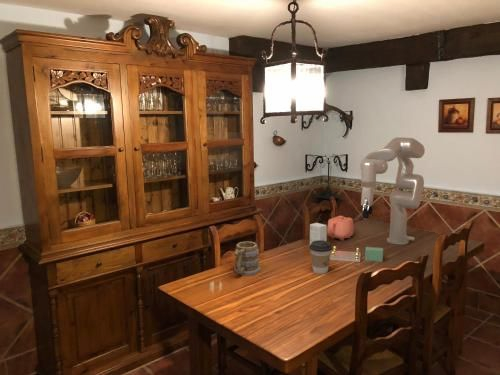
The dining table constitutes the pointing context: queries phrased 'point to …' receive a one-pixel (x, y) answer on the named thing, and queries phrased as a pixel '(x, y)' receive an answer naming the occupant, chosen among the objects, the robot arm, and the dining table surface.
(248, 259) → the tankard
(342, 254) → the chassis plate
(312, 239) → the small box
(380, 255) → the block
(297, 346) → the dining table surface
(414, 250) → the dining table surface
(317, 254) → the coffee cup
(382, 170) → the robot arm
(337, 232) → the teapot
